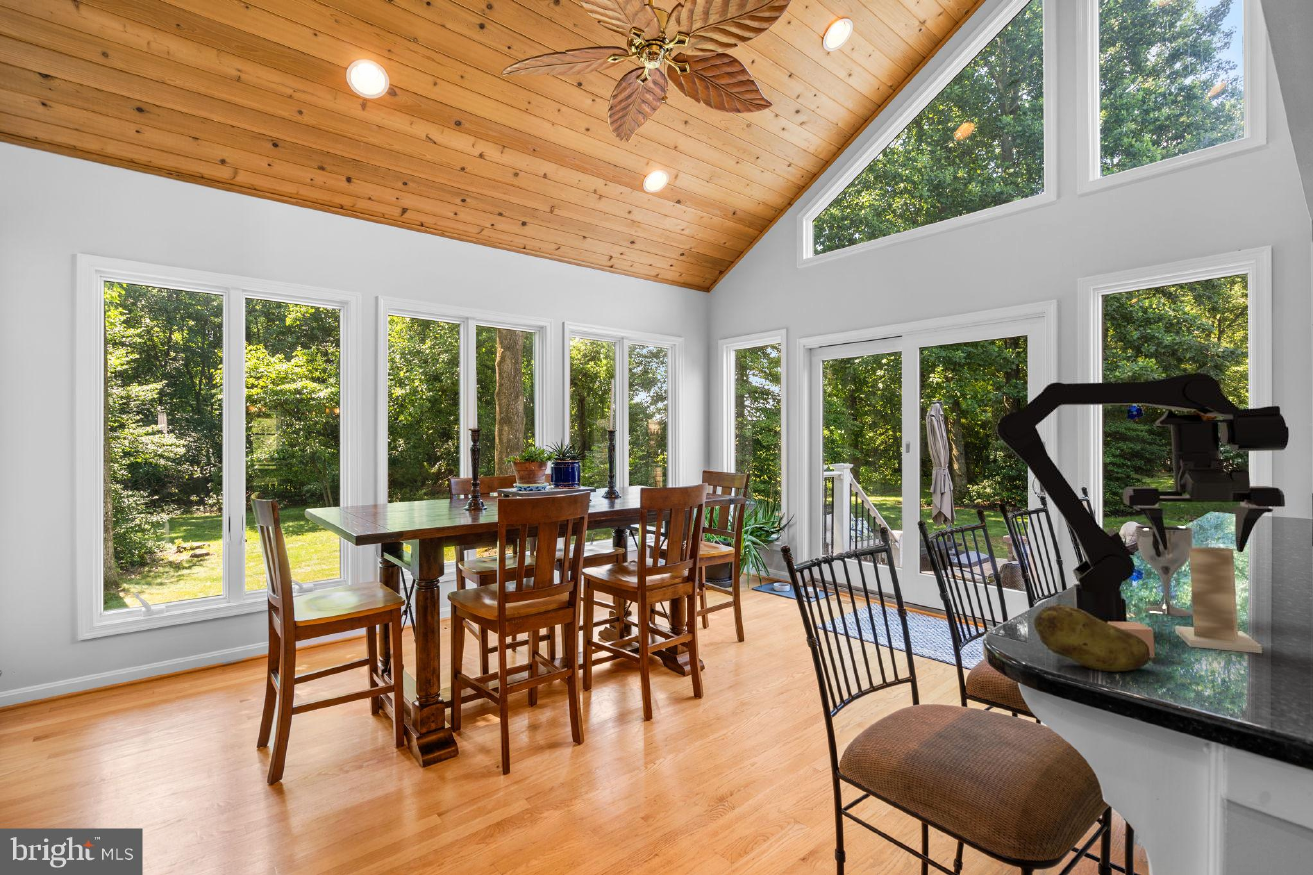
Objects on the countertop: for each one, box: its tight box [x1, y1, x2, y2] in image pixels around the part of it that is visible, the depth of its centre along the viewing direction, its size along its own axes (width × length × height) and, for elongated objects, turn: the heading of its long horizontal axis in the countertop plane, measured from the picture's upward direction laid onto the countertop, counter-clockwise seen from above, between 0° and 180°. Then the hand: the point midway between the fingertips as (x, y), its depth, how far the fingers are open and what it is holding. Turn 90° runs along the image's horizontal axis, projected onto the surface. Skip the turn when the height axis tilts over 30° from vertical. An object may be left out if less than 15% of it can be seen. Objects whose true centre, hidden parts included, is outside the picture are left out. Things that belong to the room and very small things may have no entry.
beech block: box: [1189, 545, 1239, 642], centre depth 94 cm, size 4×4×13 cm
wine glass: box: [1135, 524, 1194, 617], centre depth 112 cm, size 8×8×15 cm
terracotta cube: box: [1108, 621, 1155, 658], centre depth 91 cm, size 4×4×4 cm
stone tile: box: [1175, 625, 1263, 654], centre depth 94 cm, size 8×8×1 cm
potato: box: [1033, 604, 1150, 672], centre depth 86 cm, size 8×13×8 cm, turn 50°
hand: (1201, 550), depth 99 cm, fingers open, 9 cm apart
